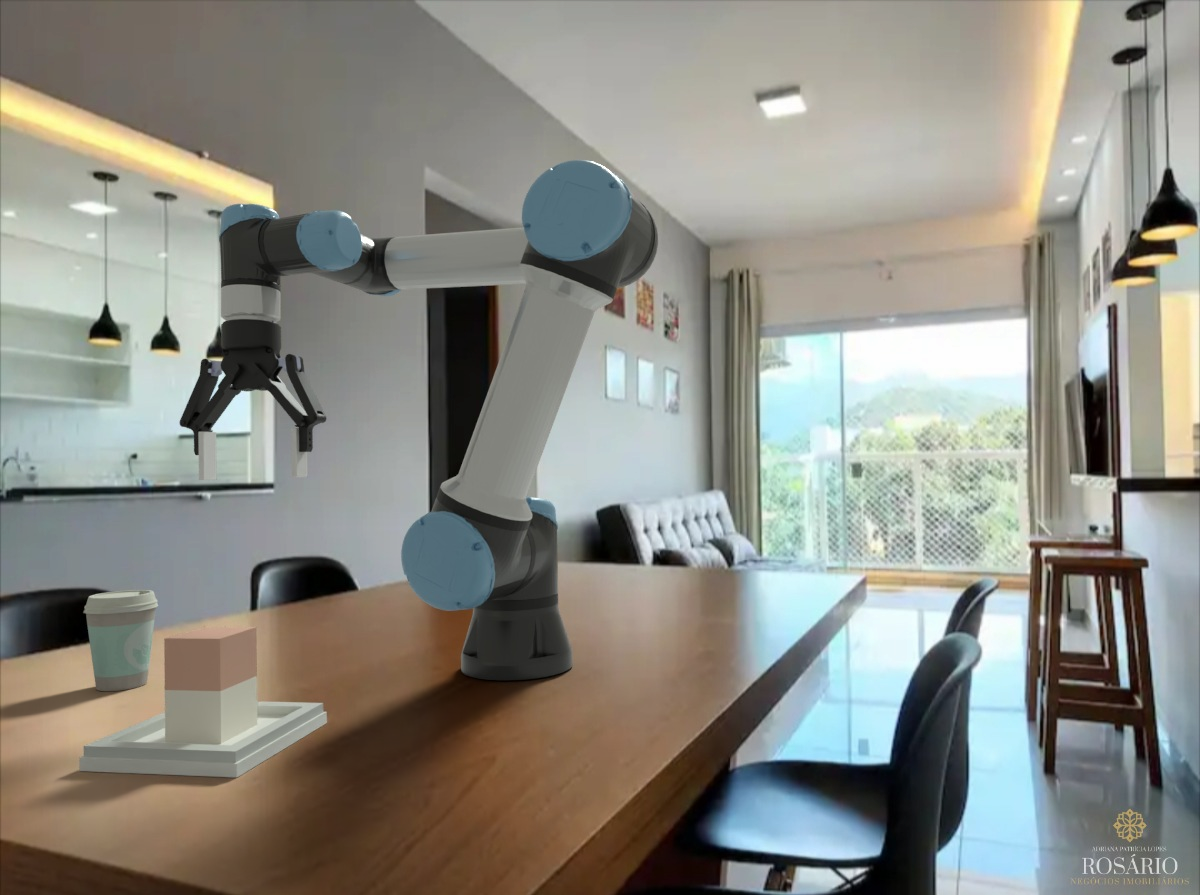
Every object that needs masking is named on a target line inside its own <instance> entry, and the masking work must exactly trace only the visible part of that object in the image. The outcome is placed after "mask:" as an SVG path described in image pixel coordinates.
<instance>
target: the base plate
mask: <svg viewBox="0 0 1200 895" xmlns="http://www.w3.org/2000/svg"><path fill="white" fill-rule="evenodd" d="M327 714H328V712H327V711H324V703H323V702H301V701H300V702H297V701H296V702H295V701H294V702H293V701H259V700H257V722H258V725H256V726H254V727H252V728H250V729H248V730H246V731H244V732H242V733H241V734H239V735H237V736H235V737H233V738H231V739H229V740H227V741H225V742H223V743H222V744H215V743H185V742H165V711H164V712H162V713H159V714H157V715H154V716H153V717H149V718H148V719H145V720H143V721H140V722H138V723H135V724H133V725H131V726H128V727H126V728H123V729H121V730H119V731H115V732H114V733H111V734H109V735H107V736H104V737H102V738H100V739H99V738H98V739H97V740H95V741H93V742H90V743H88V744H84V745H83V755H82V756H80V757H79V759H78V771H79V772H94V773H95V772H98V773H118V774H119V773H121V774H142V775H144V774H145V775H147V774H148V775H164V776H165V775H169V776H189V777H190V776H191V777H192V776H193V777H195V776H196V777H213V778H214V777H216V778H217V777H218V778H238V777H240V776H242V775H244V774H245V773H247V772H249V771H250V770H252V769H254V768H255V767H256V766H258V765H260V764H262V763H263V762H265V761H267V760H268V759H270V758H272V757H273V756H275V755H276V754H279V753H280V752H281V751H283V750H284V749H286V748H288V747H290V746H291V745H293V744H295V743H296V742H298V741H300V740H301V739H302V738H305V737H306V736H308V735H310V734H311V733H313V732H314V731H316V730H318V729H319V728H321V727H323V726H325V725H326V724H327V723H328V715H327Z"/></svg>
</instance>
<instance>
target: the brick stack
mask: <svg viewBox="0 0 1200 895" xmlns="http://www.w3.org/2000/svg"><path fill="white" fill-rule="evenodd" d="M257 639H258V638H257V627H256V626H202V627H198V628H195V629H192V630H188V631H185V632H182V633H178V634H174V635H171V636H168V637H164V640H163V641H164V642H163V644H164V646H163V647H164V651H163V652H164V712H165V742H185V743H215V744H222V743H223V742H225V741H227V740H229V739H231V738H233V737H235V736H237V735H239V734H241V733H242V732H244V731H246V730H248V729H250V728H252V727H254V726H256V725H258V722H257V701H258V666H257V665H258V659H257V658H258V657H257V656H258V655H257V654H258V651H257V650H258V649H257V642H258V641H257Z"/></svg>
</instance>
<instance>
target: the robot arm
mask: <svg viewBox="0 0 1200 895" xmlns="http://www.w3.org/2000/svg"><path fill="white" fill-rule="evenodd" d="M277 212H278V211H275V209H273V208H271V207H270V206H265V205H262V204H255V203H247V204H246V203H235V204H230V205H228V206H226V207H225V208H224V209H223V210H222V212H221V214H220V216H221V217H220V228H219V235H218V242H219V252H220V253H219V254H220V281H221V282H220V317H221V318H222V319H223V320H224V321H223V322H222V323H221V325H220V330H221V331H220V333H221V335H220V336H221V337H220V339H221V342H220V343H221V344H220V345H221V349H222V352H223V357H222V360H213V359H209V358H202V360H201V361H200V368H199V376H198V378H197V380H196V383H195V385H194V388H193V390H192V392H191V395H190V397H189V399H188V401H187V403H186V405H185V408H184V411H183V413H182V415H181V417H180V420H179V426H180V427H182V428H186V429H189V430H191V431H192V433H193V453H194V454H195V456H198V480H199V481H207V480H209V481H210V480H212V481H213V480H214V481H215V480H217V476H218V475H217V432H215V431H214V430H213V427H214V426H215V425H216V423H217V421H218V420H219V418H221V416H222V415H223V413H225V411H226V410H227V408H228V406H229V405H230V404H231V403H232V401H233V400H234V398H235V397H236V396H238V395H239V394H240V393H242V392H252V391H253V392H254V391H260V392H263V391H267V392H269V393H270V394H271V395H272V396H273V398H274V400H276V402H277V403H278V404H279V405H280V406H281V408H282V409H283V411H285V412H286V414H287V415H288V417H289V418H290V419H291V420H292V421H293V422H294V424H295V425H294V427H293V428H292V427H291V428H290V443H291V445H290V447H291V448H290V450H291V452H290V453H291V454H290V455H291V456H290V458H291V462H290V463H291V478H308V473H309V472H308V453H311V452H312V451H313V448H314V447H313V446H314V445H313V432H314V431H313V429H314V427H315V426H316V425H319V424H323V423H325V422H327V416H326V414H325V411H324V410H323V408H322V406H321V403H320V402H319V399H318V398H317V395H316V392H315V390H314V388H313V387H312V385H311V383H310V380H309V379H308V376H307V374H306V372H305V367H304V366H305V365H304V359H303V357H301V356H299V355H296V354H291V353H288V354H286V355H285V356H283V357H281V350H282V327H281V326H280V324H278V323H279V322H280V321H281V319H282V317H281V314H282V313H281V309H282V308H281V305H282V303H281V301H282V300H281V297H282V296H281V291H282V290H281V286H282V284H281V283H282V282H281V280H282V279H281V277H287V276H295V275H302V274H303V275H305V274H312V275H315V276H318V277H321V278H325V279H328V280H331V281H334V282H337V283H340V284H343V285H345V286H348V287H351V288H353V289H354V288H355V289H357V290H359V291H362V292H364V293H366V294H369V295H373V296H380V297H391V296H394V295H396V294H397V293H399V292H400V291H403V290H417V289H443V288H461V287H463V288H464V287H465V288H466V287H482V286H483V287H486V286H506V285H525V289H524V291H523V295H522V297H521V299H520V303H519V305H518V307H517V310H516V313H515V316H514V319H513V321H512V325H511V327H510V330H509V332H508V336H507V339H506V341H505V344H504V346H503V350H502V352H501V354H500V358H499V360H498V363H497V366H496V369H495V371H494V373H493V377H492V380H491V383H490V385H489V388H488V391H487V394H486V396H485V399H484V402H483V405H482V408H481V411H480V413H479V416H478V418H477V422H476V423H475V427H474V430H473V432H472V435H471V438H470V440H469V444H468V446H467V449H466V452H465V454H464V458H463V460H462V464H461V466H460V469H459V471H458V474H456V476H453V477H450V478H449V479H447V480H445V481H443V482H441V484H440V486H439V489H438V492H437V495H436V498H435V499H434V503H433V505H432V509H431V511H429V512H428V513H426V514H424V515H423V516H421V517H419V518H418V519H416V520H415V521H414V522H413V523H412V524H411V525H410V526H409V528H408V530H407V531H406V533H405V536H404V538H403V541H402V544H401V552H400V556H401V557H400V558H401V559H400V560H401V566H402V571H403V574H404V575H405V576H406V578H407V581H408V585H409V587H410V589H412V591H413V593H414V594H415V595H416V596H417V598H419V599H420V600H422V601H423V602H424V603H425V604H427V605H429V606H430V607H432V608H435V609H437V610H441V611H447V612H451V611H452V612H455V611H460V610H464V611H465V610H466V611H467V610H472V616H471V620H470V623H469V626H468V630H467V633H466V637H465V641H464V643H463V645H462V646H463V647H462V650H461V654H460V663H461V664H460V666H461V667H460V668H461V669H460V671H461V672H462V674H464V675H465V676H468V677H471V678H473V679H474V678H475V679H479V680H488V681H523V680H534V679H541V678H547V677H550V676H556V675H560V674H561V673H564V672H567V671H569V670H570V669H572V667H573V664H574V663H573V662H574V661H573V648H572V645H571V641H570V639H569V636H568V633H567V630H566V626H565V624H564V621H563V619H562V615H561V613H560V609H559V608H560V607H559V574H558V573H559V572H558V570H559V568H558V565H559V562H558V527H559V524H558V521H557V513H556V507H555V505H554V504H553V503H552V501H550V500H547V499H544V498H541V497H531V496H529V497H527V495H528V493H529V491H530V488H531V484H532V482H533V480H534V478H535V477H534V476H535V474H536V472H537V470H538V466H539V464H540V461H541V458H542V456H543V452H544V450H545V447H546V444H547V443H548V439H549V436H550V434H551V431H552V428H553V427H554V423H555V420H556V417H557V414H558V412H559V409H560V407H561V403H562V401H563V398H564V396H565V393H566V391H567V389H568V388H567V387H568V385H569V382H570V380H571V378H572V374H573V372H574V369H575V366H576V364H577V361H578V359H579V356H580V352H581V350H582V347H583V344H584V342H585V339H586V337H587V334H588V332H589V328H590V326H591V322H592V320H593V318H594V314H595V312H597V311H598V310H599V309H601V308H603V307H605V306H607V305H609V304H611V303H612V302H613V300H614V298H615V296H616V293H617V292H618V291H617V290H618V289H620V288H624V287H626V286H630V285H631V284H634V283H635V282H637V281H638V280H640V279H641V278H642V277H643V276H644V275H646V273H647V272H648V271H649V269H650V268H651V266H652V264H653V263H654V260H655V258H656V255H657V251H658V248H659V247H658V246H659V234H658V228H657V225H656V222H655V219H654V217H653V215H652V214H651V212H650V211H649V209H648V208H647V207H646V205H644V203H642V202H641V201H640V200H639V199H637V197H636V196H635V195H634V194H633V193H632V192H631V191H630V188H628V186H627V184H626V183H625V181H624V180H623V179H622V178H621V177H620V176H618V175H617V174H616V173H614V172H612V171H611V170H609V169H608V168H606V167H605V166H603V165H601V164H600V163H597V162H595V161H591V160H586V159H571V160H566V161H564V162H560V163H558V164H556V165H555V166H553V167H550V168H548V169H546V170H544V172H542V173H541V174H540V175H539V176H538V177H537V178H536V180H534V181H533V183H532V184H531V186H530V187H529V188H528V191H527V193H526V195H525V197H524V200H523V204H522V209H521V221H522V223H521V224H522V227H513V228H511V227H509V228H497V229H486V230H485V229H483V230H482V229H481V230H472V231H468V230H467V231H458V232H457V231H456V232H454V231H453V232H444V233H443V232H442V233H441V232H440V233H433V234H432V233H431V234H430V233H428V234H419V235H417V234H414V235H403V236H394V237H378V238H375V237H374V238H373V237H369V236H367V235H364V234H362V233H361V232H360V229H359V226H358V225H357V223H356V222H354V221H353V220H352V217H351V216H350V215H349V214H348V213H346V212H344V211H342V210H337V209H335V210H317V211H314V210H313V211H311V212H309V213H301V214H297V215H291V216H285V217H280V215H279V214H278V213H277ZM282 369H283V370H284V371H285V372H286V373H287V376H288V378H289V380H290V382H291V385H292V387H293V388H294V391H295V394H297V397H298V399H299V401H300V403H301V404H300V403H299V402H298V400H296V398H295V397H294V396H293V394H292V393H291V392H290V391H289V390H288V388H287V386H286V384H285V383H284V381H282V379H281V378H280V376H279V374H280V373H281V371H282ZM223 374H224V376H223V378H222V379H221V381H219V378H220V377H219V376H221V375H223ZM218 381H219V384H218ZM217 384H218V385H217ZM216 386H217V390H216V391H215V392H214V390H215V389H216ZM213 393H214V394H213ZM301 405H302V406H301Z"/></svg>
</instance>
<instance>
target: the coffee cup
mask: <svg viewBox="0 0 1200 895" xmlns="http://www.w3.org/2000/svg"><path fill="white" fill-rule="evenodd" d="M157 607H159V604H158V599H157V598H156V595H155V591H153V590H150V589H148V590H147V589H131V590H118V591H109V592H101V593H95V594H92V595H89V596H88V598H87V601H86V604H85V605H84V609H83V612H82V613H83V614H85V616H86V625H87V630H88V631H87V632H88V639H89V640H88V641H89V646H90V653H91V654H90V655H91V661H92V669H93V677H94V682H95V689H96V690H97V691H99V692H121V691H127V690H131V689H136V688H139V687H142V686H145V685H147V683H148V677H149V671H150V670H149V669H150V661H151V654H152V653H151V652H152V646H153V645H152V644H153V636H154V626H155V620H156V618H155V617H156V609H157Z"/></svg>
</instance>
